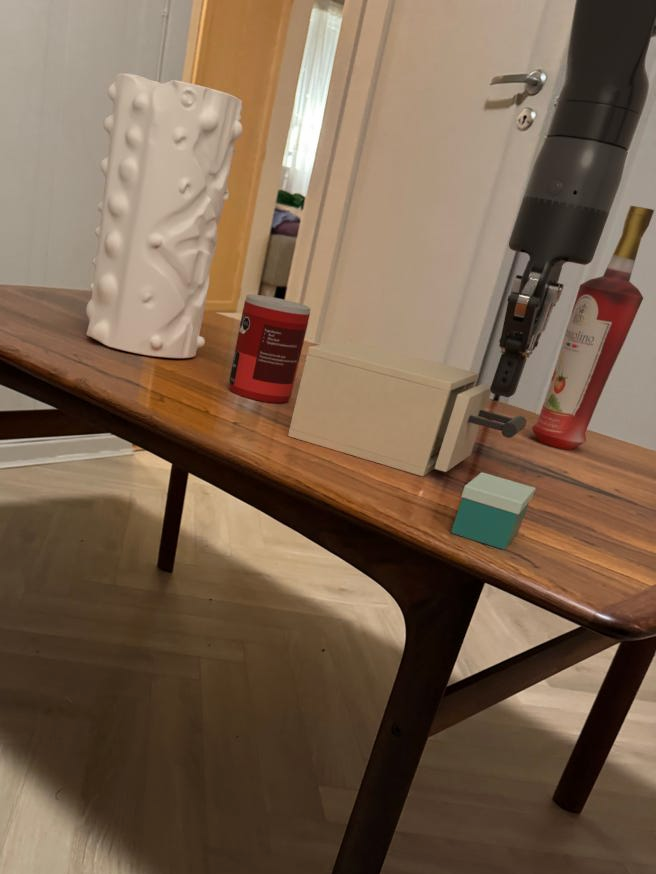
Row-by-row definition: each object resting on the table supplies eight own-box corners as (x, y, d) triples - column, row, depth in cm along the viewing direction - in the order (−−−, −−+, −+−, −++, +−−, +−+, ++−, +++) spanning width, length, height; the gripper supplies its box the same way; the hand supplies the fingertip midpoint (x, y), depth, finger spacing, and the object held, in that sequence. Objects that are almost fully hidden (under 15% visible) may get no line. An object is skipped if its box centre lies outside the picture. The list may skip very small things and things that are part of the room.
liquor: (514, 434, 118) (596, 199, 106) (553, 437, 121) (637, 210, 109) (556, 451, 112) (647, 205, 100) (596, 454, 116) (689, 216, 103)
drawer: (514, 467, 95) (538, 398, 92) (493, 486, 86) (520, 410, 83) (353, 421, 102) (370, 355, 99) (318, 434, 93) (336, 362, 89)
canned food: (247, 384, 116) (265, 294, 111) (301, 401, 112) (323, 309, 107) (215, 388, 110) (233, 293, 105) (271, 406, 106) (292, 308, 101)
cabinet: (452, 457, 99) (479, 373, 95) (422, 476, 88) (451, 383, 84) (328, 421, 104) (349, 340, 100) (287, 436, 94) (308, 346, 90)
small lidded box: (519, 532, 77) (536, 487, 75) (505, 550, 71) (523, 502, 69) (466, 516, 78) (481, 471, 77) (448, 532, 73) (464, 485, 71)
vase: (148, 362, 117) (193, 78, 103) (58, 333, 125) (88, 65, 111) (221, 359, 130) (270, 106, 116) (135, 333, 138) (171, 92, 124)
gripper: (603, 203, 74) (529, 412, 82) (616, 214, 85) (549, 398, 93) (512, 186, 77) (448, 391, 84) (536, 199, 88) (477, 379, 95)
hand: (501, 394), depth 88 cm, fingers closed
